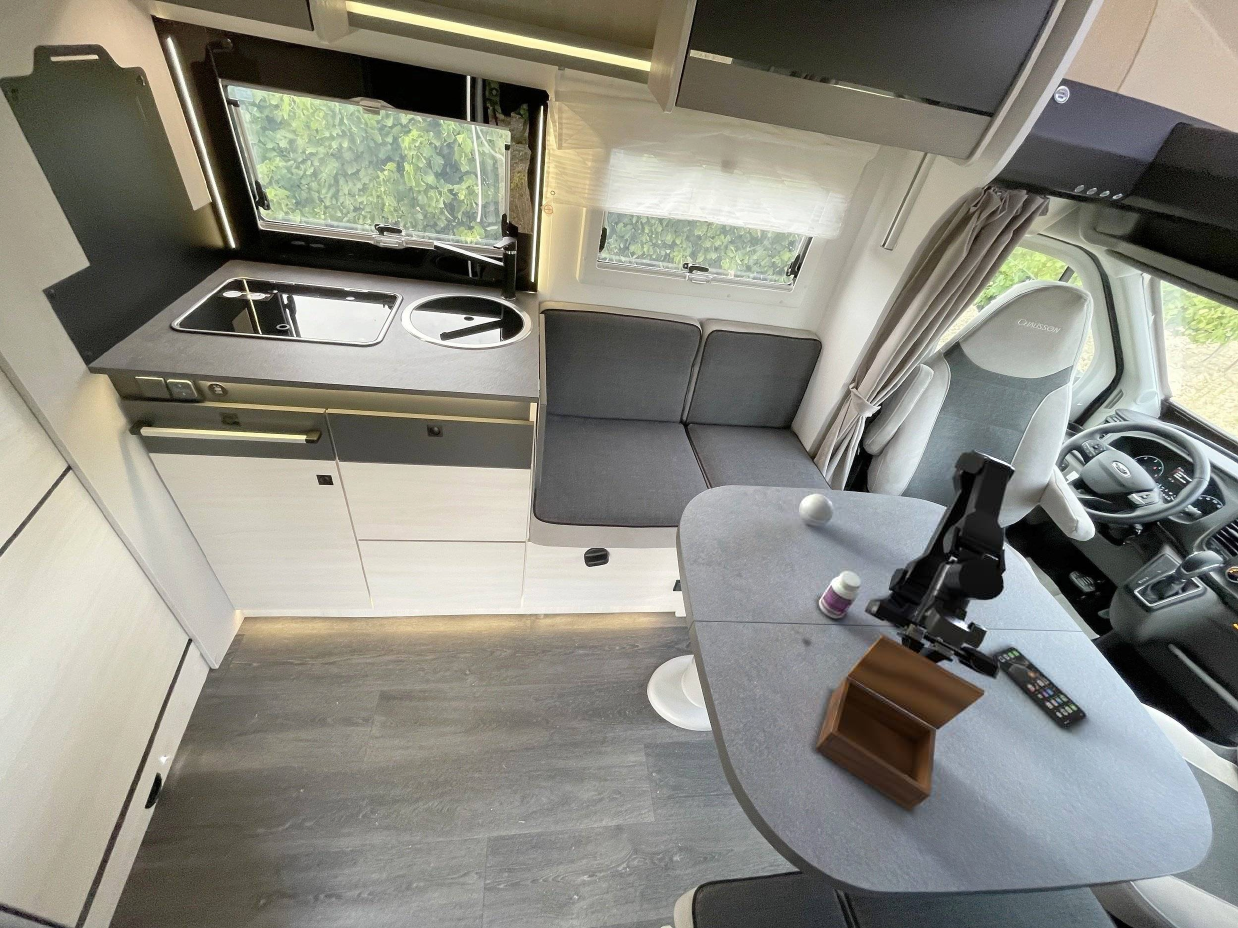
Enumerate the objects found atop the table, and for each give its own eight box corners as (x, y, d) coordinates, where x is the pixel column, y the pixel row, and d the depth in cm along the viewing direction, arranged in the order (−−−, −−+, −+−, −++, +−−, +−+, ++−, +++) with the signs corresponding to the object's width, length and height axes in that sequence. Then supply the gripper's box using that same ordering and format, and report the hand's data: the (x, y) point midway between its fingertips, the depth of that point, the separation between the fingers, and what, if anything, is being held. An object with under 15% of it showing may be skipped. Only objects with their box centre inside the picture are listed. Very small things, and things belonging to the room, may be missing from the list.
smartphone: (1013, 645, 103) (1088, 715, 92) (1011, 647, 103) (1086, 717, 93) (991, 654, 100) (1066, 727, 89) (989, 656, 100) (1063, 729, 90)
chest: (909, 810, 75) (930, 795, 71) (815, 748, 80) (830, 731, 76) (917, 745, 83) (936, 729, 80) (832, 693, 88) (846, 675, 85)
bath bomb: (796, 506, 129) (808, 483, 124) (826, 518, 127) (840, 495, 123) (792, 525, 123) (804, 501, 118) (824, 537, 121) (838, 513, 116)
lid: (984, 694, 71) (984, 690, 72) (881, 637, 76) (882, 633, 77) (937, 730, 79) (938, 725, 80) (847, 676, 84) (848, 672, 85)
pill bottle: (844, 623, 101) (866, 593, 95) (818, 613, 102) (838, 583, 96) (843, 603, 105) (864, 573, 100) (818, 594, 106) (837, 564, 100)
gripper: (902, 565, 77) (856, 656, 75) (1037, 632, 70) (990, 733, 69) (884, 569, 87) (844, 649, 86) (1001, 628, 80) (960, 715, 79)
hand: (905, 684), depth 79 cm, fingers closed, pressing on lid
